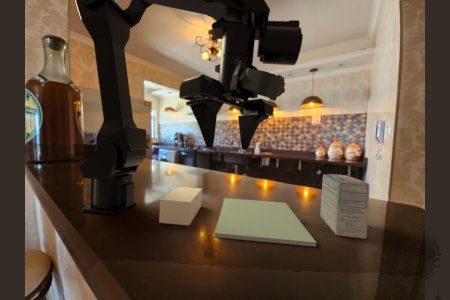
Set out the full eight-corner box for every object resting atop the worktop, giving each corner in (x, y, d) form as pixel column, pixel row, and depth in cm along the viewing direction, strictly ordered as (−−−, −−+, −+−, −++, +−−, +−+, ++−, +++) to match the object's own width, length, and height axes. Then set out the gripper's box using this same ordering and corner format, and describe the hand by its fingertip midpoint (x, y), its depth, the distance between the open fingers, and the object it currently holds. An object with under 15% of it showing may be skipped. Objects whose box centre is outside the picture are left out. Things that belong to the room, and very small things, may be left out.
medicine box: (367, 240, 28) (371, 183, 27) (334, 236, 29) (338, 180, 28) (344, 219, 35) (347, 175, 35) (319, 216, 36) (322, 173, 36)
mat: (214, 237, 26) (214, 232, 26) (224, 200, 43) (224, 198, 43) (316, 246, 25) (316, 242, 25) (285, 205, 42) (285, 202, 42)
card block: (159, 223, 30) (160, 199, 30) (177, 205, 39) (178, 186, 39) (189, 226, 30) (190, 202, 29) (200, 207, 39) (201, 188, 38)
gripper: (236, 11, 20) (224, 152, 21) (303, 69, 34) (294, 154, 34) (181, 43, 28) (173, 145, 29) (253, 80, 41) (246, 149, 42)
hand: (228, 149), depth 33 cm, fingers open, 9 cm apart
